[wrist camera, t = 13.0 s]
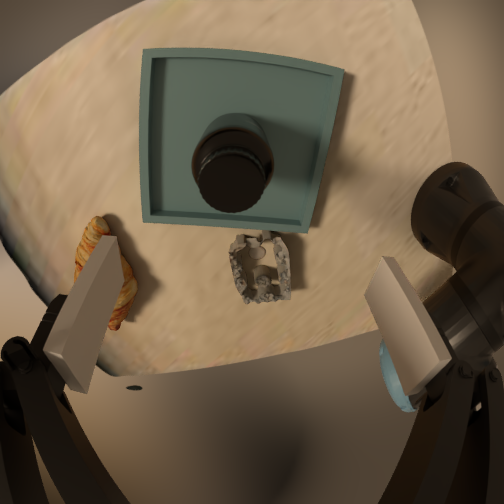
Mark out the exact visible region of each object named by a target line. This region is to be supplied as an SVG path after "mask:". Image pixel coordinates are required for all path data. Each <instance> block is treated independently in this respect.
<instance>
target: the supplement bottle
mask: <svg viewBox="0 0 504 504" xmlns="http://www.w3.org/2000/svg"><path fill="white" fill-rule="evenodd" d="M191 170H192V175H193V178H194V181H195V183H196V184H197V186H198V188H199V189H200V190H199V193H200V194H201V195H202V198H203V199H204V200H205V202H206V203H207V204H209V205H210V207H212V208H214V209H215V210H219V211H220V212H226V213H237V212H242V211H246V210H248V209H249V208H252V207H253V205H255V204H257V202H258V200H260V199H261V195H262V194H263V193H264V190H265V189H266V188H267V187H268V185H269V183H270V182H271V179H272V177H273V173H274V157H273V153H272V150H271V147H270V145H269V142H268V139H267V137H266V134H265V132H264V130H263V128H262V127H261V125H260V124H259V123H258V122H257V121H256V120H255V119H253V118H252V117H250V116H248V115H245V114H242V113H228V114H224V115H221V116H219V117H218V118H216V119H215V120H213V121H212V122H211V123H210V124H209V125H208V127H207V128H206V130H205V131H204V133H203V135H202V137H201V138H200V140H199V142H198V144H197V146H196V148H195V150H194V153H193V156H192V161H191Z"/></svg>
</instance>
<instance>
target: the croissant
mask: <svg viewBox="0 0 504 504" xmlns="http://www.w3.org/2000/svg"><path fill="white" fill-rule="evenodd" d="M102 235H106V236H111V233H110V229H109V227H108V225H107V223H106V221H105V220H104V219H102V218H101V217H99V216H96V217H94V218H92V220H91V222H90V223H88V226H87V227H86V228H85V230H84V234H83V236H82V240H81V242H80V243H79V245H78V247H77V251H76V259H75V260H76V261H75V263H76V268H75V274H74V283H75V281H76V280H77V278H78V276H79V274H80V272H81V271H82V269H83V267H84V265H85V264H86V262H87V260H88V258H89V257H90V255H91V253H92V252H93V250H94V248H95V247H96V245H97V243H98V242H99V240H100V238H101V237H102ZM118 247H119V246H118ZM119 253H120V259H121V265H122V270H123V276H124V283H123V286H122V288H121V291H120V294H119V296H118V299H117V302H116V304H115V307H114V310H113V312H112V315H111V318H110V321H109V324H108V327H109V328H110V330H115V331H117V330H118V329H119V328H120V325H121V322H122V321H123V320H124V319H125V318H126V316H127V314H128V311H129V309H130V307H131V305H132V303H133V300H134V296H135V295H136V293H137V291H138V287H137V281H136V280H135V278H134V276H133V271H132V269H131V266H130V264H128V263H127V261H126V260H125V258H124V256H123V255H121V249H120V247H119Z"/></svg>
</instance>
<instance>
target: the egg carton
mask: <svg viewBox="0 0 504 504" xmlns="http://www.w3.org/2000/svg"><path fill="white" fill-rule="evenodd" d="M264 239H271V241H272V242H273V244H275V245H274V248H273V249H274V255H275V259H276V262H277V264H278V265H277V271H278V277H279V279H278V280H279V282H280V285H277V286H273V285H272V284H271V281H272V280H271V275H270V270H269V268H268V267H267V266H265V265H259V266H257V267H255V269H254V281H255V284H256V285H257V286H258V289H257V290H250V288H248V287H247V286H248V285H247V275H246V273H245V271H243V268H242V257H241V254H240V253H239V252H238V251H239V250H241V249H243V248H244V247H245V246H246V245H247V246H248V247H251V249H250V251H249V255H250V257H251V258H253V259H261V258H263V257H264V256H265V249H264V248H263V247H261V246H260V245H261V244H262V243H263V241H264ZM229 254H230V255H229V258H230V263H231V268H232V272H233V277H234V281H235V285H236V288H237V290H238V291H239V293H240V295H241V296H242V298H243V301H244V302H245V303H246V304H249V303H250V302H253V301H254V302H257V303H258V304H259V303H261V302H270V301H275V302H276V301H277V300H279V299H281V300H290V299H291V280H290V278H291V275H290V262H289V261H290V259H289V252H288V249H287V247H286V245H285V244H284V242H283V241H282V239H281V237H280V235H279V234H278V235H276V234H273V233H272V232H271V231H270V230H262V233H261V235H260V236H259V237H258V238H246V237H245V235H244V234H241V235H237V236H236V240H235V241H234V242H233V243H232V244H231V245H230V250H229Z"/></svg>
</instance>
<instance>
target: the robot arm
mask: <svg viewBox="0 0 504 504" xmlns="http://www.w3.org/2000/svg"><path fill="white" fill-rule="evenodd" d="M411 227H412V231H413V234H414V236H415V237H416V239H417V240H418V241H419V243H420V244H421V245H422V246H423V248H424V249H426V250H427V251H428V252H430V253H431V254H433V255H435V256H437V257H439V258H440V259H442V260H444V261H446V262H448V263H449V264H451V265H452V266H453V267H454V268H455V269H456V271H457V272H456V273H455V274H454V275H453V276H452V277H451V278H450V279H448V280H447V281H446V282H445V283H444V284H443V285H442V286H441V287H440V288H439V289H438V290H436V291H435V292H434V293H433V294H432V295H431V296H430V297H428V298H427V299H426V300H425V301H424V302H423V303H422V302H421V300H420V299H419V297H418V295H417V293H416V292H415V290H414V289H413V287H412V285H411V284H410V282H409V280H408V279H407V277H406V276H405V274H404V273H403V271H402V269H401V268H400V266H399V265H398V263H397V262H396V260H395V259H394V257H384V256H382V258H381V260H380V262H379V264H378V267H377V269H376V271H375V273H374V275H373V277H372V280H371V282H370V284H369V286H368V288H367V290H366V292H365V294H364V296H365V298H366V300H367V303H368V305H369V307H370V309H371V312H372V314H373V316H374V318H375V321H376V323H377V325H378V328H379V330H380V332H381V335H382V337H383V339H382V341H381V344H380V351H379V353H380V365H381V370H382V374H383V377H384V380H385V383H386V386H387V388H388V391H389V393H390V395H391V397H392V399H393V400H394V402H395V403H396V404H397V405H398V406H400V408H401V410H403V411H405V412H411V411H412V412H413V411H416V410H417V409H419V410H418V413H417V416H416V419H415V422H414V425H413V428H412V431H411V433H410V436H409V438H408V441H407V443H406V446H405V448H404V451H403V453H402V455H401V458H400V460H399V462H398V465H397V467H396V469H395V471H394V473H393V475H392V477H391V479H390V481H389V483H388V485H387V487H386V489H385V491H384V493H383V495H382V497H381V499H380V501H379V502H378V504H504V389H503V382H502V376H501V373H500V372H499V370H498V369H497V368H498V366H497V364H496V362H495V361H494V359H493V357H492V355H493V354H494V353H495V352H496V351H497V350H498V349H500V348H501V347H502V346H503V345H504V205H503V204H501V203H500V202H499V201H498V199H497V197H496V196H495V194H494V193H493V191H492V189H491V188H490V186H489V185H488V184H487V182H486V180H485V179H484V177H483V176H482V175H481V174H480V173H479V172H478V171H477V170H475V169H474V168H472V167H471V166H469V165H468V164H465V163H462V162H452V163H448V164H446V165H443V166H442V167H440V168H438V169H437V170H436V171H434V172H433V173H432V174H431V175H430V176H429V177H428V178H427V179H426V181H425V182H424V183H423V185H422V186H421V188H420V190H419V192H418V194H417V196H416V198H415V201H414V204H413V208H412V213H411ZM123 283H124V276H123V270H122V265H121V259H120V253H119V247H118V241H117V236H106V235H102V237H101V238H100V240H99V242H98V243H97V245H96V247H95V248H94V250H93V252H92V253H91V255H90V257H89V258H88V260H87V262H86V264H85V265H84V267H83V269H82V271H81V272H80V274H79V276H78V278H77V280H76V281H75V283H74V285H73V287H72V289H71V291H70V293H69V295H62V294H59V295H58V296H57V297H56V298H55V299H53V300H52V301H51V303H50V305H49V306H48V308H47V310H46V314H45V315H44V316H43V318H42V321H41V322H40V324H39V327H38V328H37V330H36V333H35V335H34V337H33V339H32V341H31V343H30V344H29V342H28V340H27V339H25V338H24V337H19V336H16V337H13V338H11V339H9V340H8V341H7V342H6V343H5V344H4V345H3V347H2V350H1V359H2V360H3V361H0V504H49V502H48V499H47V496H46V493H45V490H44V486H43V483H42V479H41V476H40V472H39V468H38V464H37V460H36V455H35V450H34V446H33V440H34V442H35V444H36V447H37V449H38V451H39V454H40V456H41V458H42V460H43V462H44V464H45V466H46V469H47V471H48V472H49V475H50V477H51V479H52V480H53V482H54V484H55V486H56V488H57V490H58V491H59V493H60V495H61V497H62V498H63V500H64V502H65V503H66V504H130V502H129V501H128V500H127V498H126V497H125V496H124V495H123V493H122V492H121V490H120V489H119V488H118V486H117V485H116V483H115V482H114V480H113V479H112V478H111V476H110V475H109V473H108V472H107V470H106V468H105V467H104V465H103V464H102V462H101V461H100V459H99V457H98V456H97V454H96V452H95V451H94V449H93V447H92V445H91V444H90V442H89V440H88V438H87V436H86V435H85V433H84V431H83V429H82V427H81V425H80V423H79V421H78V419H77V417H76V415H75V413H74V411H73V409H72V407H71V405H70V403H69V401H68V398H67V396H66V394H65V392H64V391H63V390H64V386H65V383H66V384H67V385H68V387H69V388H70V389H71V390H73V391H77V392H81V393H85V394H87V393H88V389H89V385H90V381H91V378H92V375H93V371H94V368H95V364H96V361H97V358H98V354H99V351H100V348H101V345H102V342H103V339H104V336H105V333H106V330H107V327H108V324H109V321H110V318H111V315H112V312H113V310H114V307H115V304H116V302H117V299H118V296H119V294H120V291H121V288H122V286H123ZM32 437H33V440H32Z"/></svg>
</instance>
